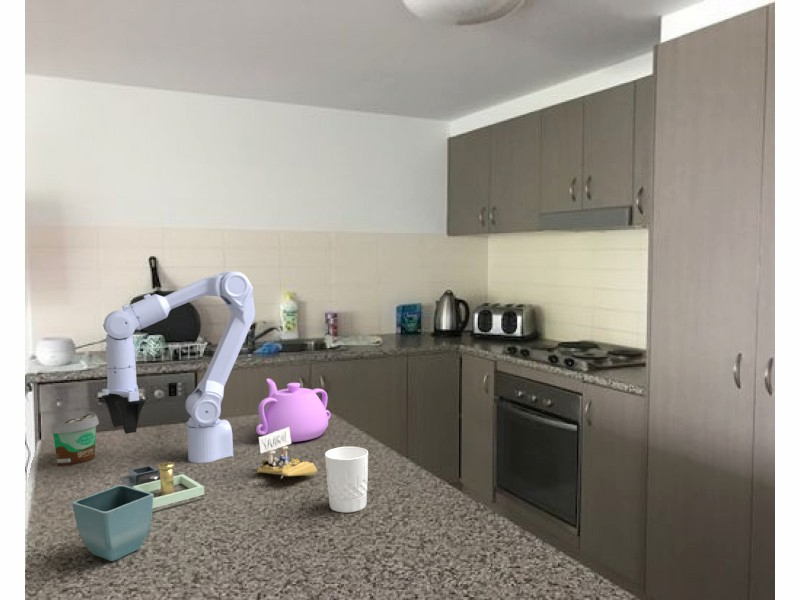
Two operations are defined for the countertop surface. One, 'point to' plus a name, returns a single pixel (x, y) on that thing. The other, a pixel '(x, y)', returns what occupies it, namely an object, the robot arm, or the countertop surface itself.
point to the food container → (75, 440)
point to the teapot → (294, 412)
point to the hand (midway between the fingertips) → (124, 429)
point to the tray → (193, 491)
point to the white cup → (347, 478)
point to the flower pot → (114, 521)
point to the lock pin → (166, 477)
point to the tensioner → (142, 475)
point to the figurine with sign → (282, 456)
